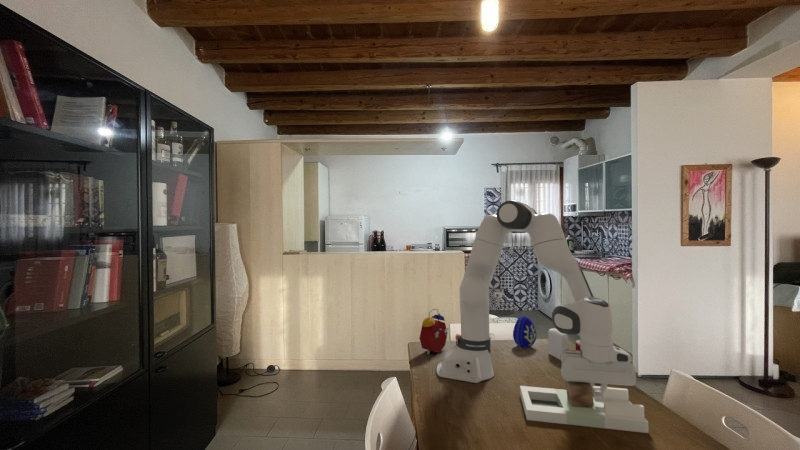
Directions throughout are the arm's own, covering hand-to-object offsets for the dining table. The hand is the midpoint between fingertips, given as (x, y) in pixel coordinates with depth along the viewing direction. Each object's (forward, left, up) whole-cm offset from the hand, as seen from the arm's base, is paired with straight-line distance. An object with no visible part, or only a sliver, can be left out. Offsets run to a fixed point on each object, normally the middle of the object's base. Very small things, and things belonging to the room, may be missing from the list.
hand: (597, 396), depth 104 cm
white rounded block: (-1, +47, -6) cm, 47 cm away
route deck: (-6, 0, -5) cm, 8 cm away
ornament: (-14, +58, -6) cm, 60 cm away
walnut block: (-5, 0, -2) cm, 5 cm away
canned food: (+7, +35, -6) cm, 36 cm away
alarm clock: (-55, +43, -6) cm, 70 cm away
